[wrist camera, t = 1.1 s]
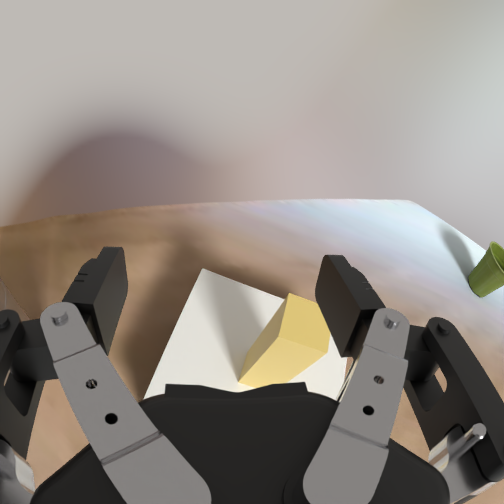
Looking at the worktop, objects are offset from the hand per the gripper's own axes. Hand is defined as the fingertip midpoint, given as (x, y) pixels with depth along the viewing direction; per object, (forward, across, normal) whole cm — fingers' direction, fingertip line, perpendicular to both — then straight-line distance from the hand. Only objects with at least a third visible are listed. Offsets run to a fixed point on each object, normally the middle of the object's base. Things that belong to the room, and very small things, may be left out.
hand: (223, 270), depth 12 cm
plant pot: (+33, -66, +26) cm, 78 cm away
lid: (+9, -5, +19) cm, 21 cm away
